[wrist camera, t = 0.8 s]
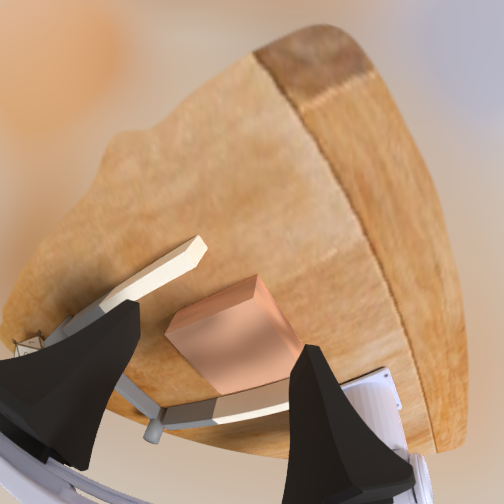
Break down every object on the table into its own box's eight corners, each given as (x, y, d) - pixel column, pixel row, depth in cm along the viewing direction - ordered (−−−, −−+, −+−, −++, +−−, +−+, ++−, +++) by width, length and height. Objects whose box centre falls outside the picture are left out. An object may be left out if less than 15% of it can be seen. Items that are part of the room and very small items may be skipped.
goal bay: (225, 405, 28) (217, 440, 23) (162, 415, 31) (151, 444, 27) (112, 283, 23) (83, 315, 18) (64, 317, 26) (41, 343, 21)
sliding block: (303, 342, 23) (304, 371, 20) (228, 367, 26) (221, 394, 22) (258, 272, 21) (253, 297, 18) (178, 308, 23) (164, 334, 20)
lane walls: (305, 380, 25) (306, 404, 22) (223, 403, 28) (218, 424, 25) (198, 234, 20) (185, 251, 17) (115, 287, 23) (98, 305, 20)
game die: (73, 341, 33) (71, 405, 28) (28, 332, 30) (24, 394, 25) (54, 325, 26) (50, 405, 21) (3, 314, 23) (-4, 389, 18)
